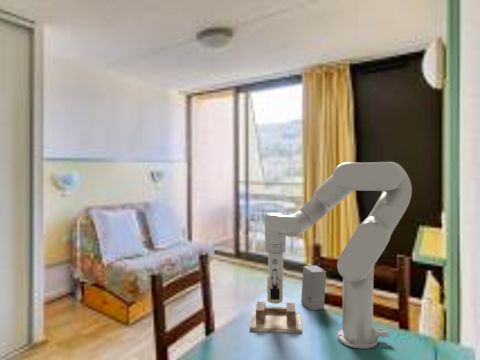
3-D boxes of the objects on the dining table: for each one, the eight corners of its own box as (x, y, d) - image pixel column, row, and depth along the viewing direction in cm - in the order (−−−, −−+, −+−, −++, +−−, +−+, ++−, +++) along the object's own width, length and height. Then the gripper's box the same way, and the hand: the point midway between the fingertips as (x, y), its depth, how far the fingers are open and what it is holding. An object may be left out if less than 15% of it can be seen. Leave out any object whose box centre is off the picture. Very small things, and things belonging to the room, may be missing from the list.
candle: (281, 304, 128) (281, 276, 128) (266, 303, 130) (266, 275, 129) (283, 298, 134) (283, 272, 133) (268, 297, 135) (268, 271, 134)
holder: (299, 315, 138) (299, 299, 138) (301, 333, 124) (301, 315, 124) (252, 314, 140) (252, 298, 140) (249, 330, 126) (249, 313, 126)
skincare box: (300, 303, 150) (300, 265, 149) (316, 301, 152) (316, 264, 151) (310, 311, 142) (310, 271, 141) (326, 309, 144) (326, 269, 143)
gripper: (285, 253, 122) (285, 305, 123) (285, 242, 139) (285, 288, 140) (263, 252, 123) (263, 304, 124) (265, 241, 140) (265, 287, 141)
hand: (275, 295), depth 132 cm, fingers closed on candle, 5 cm apart
